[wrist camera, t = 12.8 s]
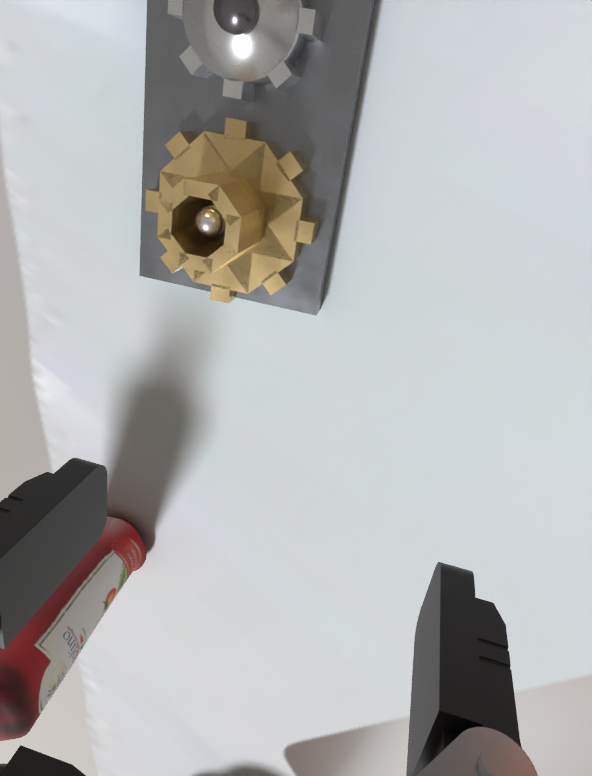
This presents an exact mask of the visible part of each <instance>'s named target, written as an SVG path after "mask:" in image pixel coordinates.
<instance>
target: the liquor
mask: <svg viewBox="0 0 592 776" xmlns="http://www.w3.org/2000/svg"><path fill="white" fill-rule="evenodd" d="M145 560H146V548H145V544H144V542H143V540H142V538H141V536H140V534H139V532H138V531H137V529H136V528H135V527H134V526H133V525H132V524H130V523H129V522H127V521H125V520H123V519H119V518H114V517H108V516H107V520H106V524H105V527H104V530H103V532H102V534H101V536H100V538H99V540H98V541H97V542H96V543H95V545H94V546H93V547H92V548H91V549H90V550H89V552H88V553H87V554H86V555H85V556H84V557H83V559H82V560H81V561H80V562H79V563H78V564H77V566H76V567H75V568H74V569H73V570H72V571H71V573H70V574H69V575H68V576H67V577H66V578H65V580H64V581H63V582H62V583H61V584H60V585H59V587H58V588H57V589H56V590H55V591H54V592H53V594H52V595H51V596H50V597H49V598H48V599H47V601H46V602H45V603H44V604H43V605H42V606H41V608H40V609H39V610H38V611H37V612H36V613H35V615H34V616H33V617H32V618H31V619H30V620H29V621H28V623H27V624H26V625H25V626H24V627H23V628H22V630H21V631H20V632H19V633H18V634H17V635H16V637H15V638H14V639H13V640H12V641H11V642H10V644H9V645H8V646H7V647H6V648H5V649H2V648H0V741H3V740H9V739H16V738H20V737H23V736H25V735H26V734H27V733H28V732H29V731H30V729H31V728H32V726H33V725H34V723H35V721H36V720H37V718H38V717H39V715H40V714H41V712H42V711H43V709H44V708H45V706H46V704H47V703H48V701H49V700H50V698H51V697H52V695H53V694H54V692H55V690H56V689H57V688H58V686H59V684H60V683H61V682H62V680H63V679H64V677H65V675H66V674H67V673H68V671H69V669H70V668H71V666H72V664H73V663H74V661H75V660H76V658H77V656H78V655H79V653H80V651H81V650H82V648H83V647H84V645H85V643H86V642H87V640H88V638H89V637H90V635H91V634H92V632H93V630H94V629H95V627H96V626H97V624H98V623H99V621H100V620H101V618H102V617H103V615H104V613H105V612H106V610H107V609H108V607H109V606H110V604H111V603H112V601H113V600H114V598H115V597H116V595H117V594H118V592H119V591H120V589H121V588H122V586H123V585H124V583H125V582H126V580H127V579H128V577H129V576H130V575H131V573H132V572H133V571H135V570H137V569H139V568H140V567H141V566H142V565H143V564H144V562H145Z"/></svg>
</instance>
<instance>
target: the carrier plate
mask: <svg viewBox="0 0 592 776" xmlns="http://www.w3.org/2000/svg"><path fill="white" fill-rule="evenodd" d="M374 5H375V0H147V31H146V67H145V103H144V138H143V174H142V210H141V246H140V276H144V277H148V278H153V279H157V280H161V281H166V282H170V283H175V284H179V285H184V286H188V287H192V288H197V289H201V290H206V291H210V292H211V286H210V285H205V284H201V283H196V282H193V281H192V279H191V278H190V277H189V275H188V274H187V272H186V271H185V270H184V268H182V269H180V270H178V271H176V272H174V273H171V271H170V270H169V269H168V267H167V266H166V265H165V263H164V262H163V261H162V259H161V258H160V257H161V256H162V255H163V254H165V253H166V252H167V250H166V248H165V247H164V245H163V244H162V243H161V241H160V240H159V239H158V237H157V230H158V213H155V212H150V211H145V201H146V189H152V188H159V187H160V171H161V170H162V169H163V168H164V167H165V166H166V165H167V164H169V163H170V162H171V161H172V160H173V159H174V157H173V156H172V154H171V153H170V152H169V150H168V149H167V147H166V146H165V144H167V143H168V142H169V141H170V140H171V139H172V138H173V137H174V136H175V135H176V134H177V133H178V132H179V131H189V132H190V133H191V135H192V136H193V138H194V139H196V138H197V137H198V136H199V135H200V134H202V133H203V132H204V131H214V132H219V133H224V131H225V120H226V118H235V119H241V120H247V121H252V122H254V126H253V135H252V138H253V139H258V140H264V141H270V142H272V143H273V144H274V146H275V147H276V149H277V150H278V152H279V153H280V155H281V156H282V158H283V157H284V156H285V155H286V154H287V153H289V152H290V151H296V152H297V153H298V155H299V156H300V158H301V159H302V161H303V162H304V164H305V165H306V167H307V168H308V170H307V171H305V172H304V173H303V174H302V175H300V176H299V177H298V178H296V179H297V181H298V182H299V184H300V185H301V187H302V188H303V190H304V191H305V193H306V194H307V196H308V199H307V205H306V212H305V218H310V219H316V220H319V222H318V228H317V234H316V240H315V242H313V243H312V244H306V243H301V245H300V251H299V258H297V259H296V260H295V261H294V262H292V263H291V264H290V265H288V266H287V267H285V268H284V270H285V271H286V273H287V274H288V276H289V277H290V278H291V281H290V282H289V283H288V284H286V285H285V286H284V287H282V288H281V289H279V290H278V291H276V292H275V293H274V294H272V295H270V294H269V292H268V291H267V289H266V288H265V287H264V285H263V284H261V285H260V286H258V287H257V288H256V289H254V290H253V291H251V292H250V293H248V294H246V293H241V292H237V291H236V295H235V297H237V298H241V299H246V300H250V301H255V302H259V303H263V304H268V305H272V306H277V307H281V308H286V309H290V310H295V311H299V312H303V313H308V314H312V315H317V313H318V312H319V311H320V307H321V302H322V296H323V291H324V285H325V279H326V274H327V268H328V263H329V257H330V251H331V246H332V240H333V235H334V229H335V224H336V218H337V212H338V207H339V201H340V196H341V190H342V184H343V179H344V173H345V168H346V162H347V156H348V151H349V145H350V140H351V134H352V128H353V123H354V117H355V112H356V106H357V100H358V95H359V89H360V84H361V78H362V72H363V67H364V61H365V56H366V50H367V44H368V39H369V33H370V28H371V22H372V16H373V11H374ZM195 223H196V227H197V229H198V230H199V232H201V233H202V234H203V235H205V236H215V235H218V234H220V233H221V235H222V236H224V237H225V226H226V220H225V219H224V217H223V216H222V214H221V213H220V212H219V210H218V209H217V207H216V206H215V204H214V203H213V202H212V205H211V206H207V207H204V208H202V209H201V210H199V212H198V213H197V215H196V218H195Z"/></svg>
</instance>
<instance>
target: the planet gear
mask: <svg viewBox="0 0 592 776" xmlns="http://www.w3.org/2000/svg"><path fill="white" fill-rule="evenodd" d="M253 126H254V122H252V121H247V120H241V119H235V118H226V120H225V131H224V133H219V132H214V131H204V132H203V133H202V134H200V135H199V136H198V137H197V138H196V139H194V138H193V136H192V135H191V133H190V132H189V131H179V132H178V133H177V134H176V135H175V136H174V137H173V138H172V139H171V140H170V141H169V142H168V143H167V144H165V146H166V147H167V149H168V150H169V152H170V153H171V154H172V156H173V157H174V159H173V160H172V161H171V162H170V163H169V164H167V165H166V166H165V167H164V168H163V169H162V170H161V171H160V187H159V188H152V189H146V201H145V211H150V212H155V213H158V230H157V237H158V239H159V240H160V241H161V243H162V244H163V245H164V247H165V248H166V250H167V252H166V253H165V254H163V255H162V256H161V257H160V258H161V259H162V261H163V262H164V263H165V265H166V266H167V267H168V269H169V270H170V271H171V273H174V272H176V271H178V270H180V269H182V268H184V270H185V271H186V272H187V274H188V275H189V277H190V278H191V279H192V281H193V282H196V283H201V284H205V285H210V286H211V294H210V299H212V300H216V301H220V302H225V303H229V302H231V301H232V300H233V299H234V298H235V295H236V291H237V292H241V293H246V294H248V293H250V292H251V291H253V290H254V289H256V288H257V287H258V286H260V285H261V284H263V285H264V287H265V288H266V289H267V291H268V292H269V294H270V295H272V294H274V293H275V292H276V291H278V290H279V289H281V288H282V287H284V286H285V285H286V284H288V283H289V282H290V281H291V278H290V277H289V276H288V274H287V273H286V271H285V270H284V268H285V267H287V266H288V265H290V264H291V263H292V262H294V261H295V260H296V259H297V258H299V251H300V245H301V243H306V244H312V243H313V242H315V240H316V234H317V228H318V222H319V220H316V219H310V218H305V212H306V205H307V199H308V196H307V194H306V193H305V191H304V190H303V188H302V187H301V185H300V184H299V182H298V181H297V179H296V178H298V177H299V176H300V175H302V174H303V173H304V172H305V171H307V170H308V168H307V167H306V165H305V164H304V162H303V161H302V159H301V158H300V156H299V155H298V153H297V152H296V151H290V152H289V153H287V154H286V155H285V156H284V157H283V158H282V156H281V155H280V153H279V152H278V150H277V149H276V147H275V146H274V144H273V143H272V142H270V141H264V140H258V139H253V138H252V135H253ZM212 202H213V203H214V204H215V206H216V207H217V209H218V210H219V212H220V213H221V214H222V216H223V217H224V219H225V220H226V226H225V237H224V236H222V235H221V233H220V234H218V235H215V236H205V235H203V234H202V233H201V232H199V230H198V229H197V227H196V223H195V218H196V215H197V213H198V212H199V210H201V209H202V208H204V207H207V206H211V205H212Z"/></svg>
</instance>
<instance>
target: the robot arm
mask: <svg viewBox="0 0 592 776" xmlns="http://www.w3.org/2000/svg"><path fill="white" fill-rule="evenodd" d="M106 520H107V470H106V468H105V466H103V465H99V464H96V463H92V462H89V461H85V460H82V459H78V458H73V459H71V460H69V461H68V462H67V463H66V464H64V465H63V466H62V467H61V468H60V469H59V470H58V471H56V472H55V473H54V474H52V473H49V472H46V473H44V474H41V475H39V476H37V477H34V478H32V479H30V480H27V481H25V482H24V483H23V484H22V485H20V486H19V487H18V488H17V489H15V490H14V491H13V492H12V493H11V494H9V496H8V498H4V499H3V500H2V501H1V502H0V648H2V649H5V648H6V647H7V646H8V645H9V644H10V642H11V641H12V640H13V639H14V638H15V637H16V635H17V634H18V633H19V632H20V631H21V630H22V628H23V627H24V626H25V625H26V624H27V623H28V621H29V620H30V619H31V618H32V617H33V616H34V615H35V613H36V612H37V611H38V610H39V609H40V608H41V606H42V605H43V604H44V603H45V602H46V601H47V599H48V598H49V597H50V596H51V595H52V594H53V592H54V591H55V590H56V589H57V588H58V587H59V585H60V584H61V583H62V582H63V581H64V580H65V578H66V577H67V576H68V575H69V574H70V573H71V571H72V570H73V569H74V568H75V567H76V566H77V564H78V563H79V562H80V561H81V560H82V559H83V557H84V556H85V555H86V554H87V553H88V552H89V550H90V549H91V548H92V547H93V546H94V545H95V543H96V542H97V541H98V540H99V538H100V536H101V534H102V532H103V530H104V527H105V524H106ZM0 776H85V775H84V774H83V773H81V772H80V771H79V770H78V769H77V768H75V767H74V766H73V765H71V764H68V763H66V762H63V761H61V760H58V759H55V758H52V757H50V756H47V755H44V754H42V753H39V752H37V751H34V750H31V749H29V748H26V747H23V746H20V747H19V748H18V750H17V751H16V753H15V754H14V755H13V757H12V759H11V760H10V761H9V763H8V764H0ZM407 776H538V775H537V772H536V770H535V768H534V765H533V764H532V762H531V760H530V759H529V757H528V756H527V755H526V753H525V752H524V750H522V747H521V743H520V738H519V731H518V722H517V714H516V706H515V698H514V689H513V681H512V673H511V670H510V657H509V651H508V641H507V633H506V625H505V623H504V621H503V620H502V618H501V616H500V614H499V612H498V611H497V609H496V607H495V605H494V603H492V602H488V601H485V600H482V599H478V598H475V586H474V575H473V572H472V571H469V570H465V569H462V568H458V567H455V566H451V565H448V564H444V563H441V562H438V564H437V565H436V568H435V570H434V573H433V576H432V579H431V582H430V585H429V587H428V590H427V593H426V596H425V599H424V602H423V605H422V607H421V610H420V614H419V618H418V622H417V627H416V633H415V642H414V659H413V675H412V692H411V709H410V725H409V742H408V758H407Z"/></svg>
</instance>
